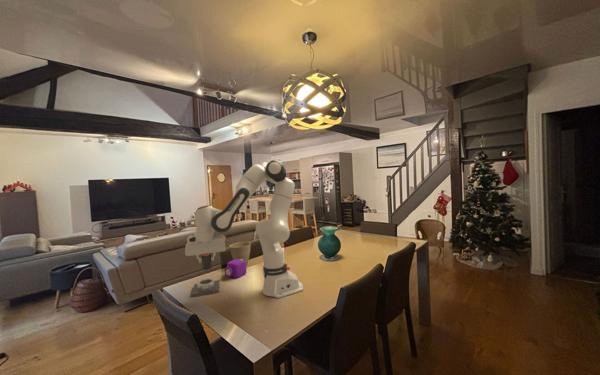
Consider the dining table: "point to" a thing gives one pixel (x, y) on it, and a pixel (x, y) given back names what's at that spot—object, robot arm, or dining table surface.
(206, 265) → the dome-topped dark cylinder
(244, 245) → the plant pot
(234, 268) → the toy camera
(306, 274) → the dining table surface
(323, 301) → the dining table surface
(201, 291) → the octagon ring plate
